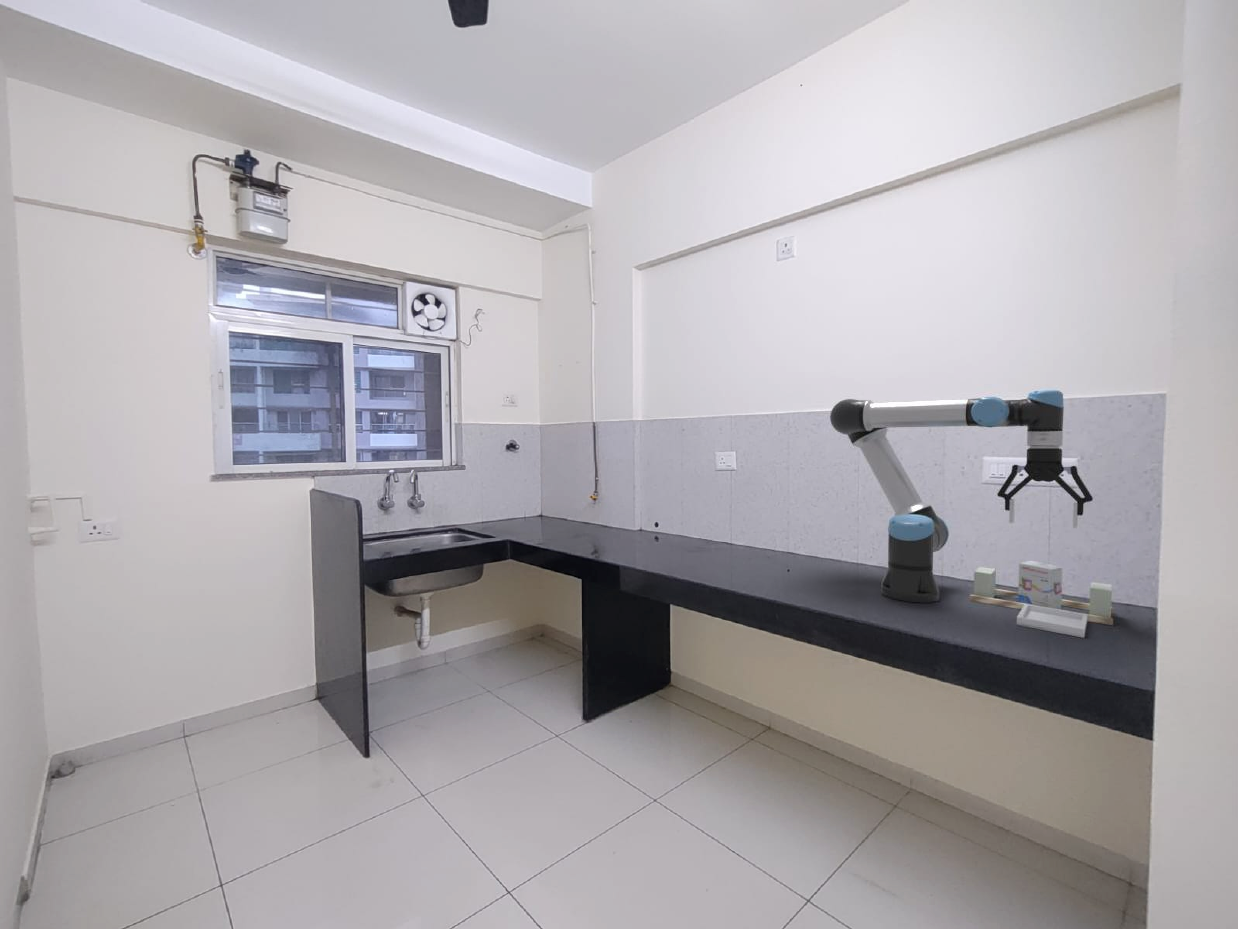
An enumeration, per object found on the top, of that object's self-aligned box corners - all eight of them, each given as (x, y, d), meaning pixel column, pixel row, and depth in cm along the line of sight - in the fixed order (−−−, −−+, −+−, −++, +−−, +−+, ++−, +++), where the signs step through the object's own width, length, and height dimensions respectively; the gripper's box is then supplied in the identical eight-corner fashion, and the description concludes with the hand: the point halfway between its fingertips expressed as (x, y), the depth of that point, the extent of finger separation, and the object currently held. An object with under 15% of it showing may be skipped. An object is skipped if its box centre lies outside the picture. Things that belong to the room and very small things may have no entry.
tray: (1016, 624, 131) (1016, 617, 131) (1024, 611, 141) (1024, 603, 141) (1084, 637, 122) (1084, 629, 122) (1087, 622, 133) (1087, 614, 133)
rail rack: (969, 600, 151) (969, 595, 151) (978, 591, 160) (978, 586, 160) (1112, 625, 130) (1113, 619, 130) (1113, 613, 140) (1113, 607, 140)
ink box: (1016, 603, 148) (1017, 561, 148) (1028, 601, 150) (1029, 560, 150) (1050, 612, 141) (1051, 568, 140) (1062, 610, 142) (1063, 566, 142)
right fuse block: (1088, 618, 135) (1090, 588, 135) (1090, 611, 141) (1091, 582, 141) (1110, 622, 132) (1111, 591, 132) (1110, 614, 138) (1111, 584, 138)
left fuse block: (973, 598, 153) (974, 571, 152) (979, 593, 158) (979, 566, 158) (990, 601, 150) (991, 574, 149) (995, 595, 156) (995, 569, 155)
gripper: (986, 447, 149) (985, 521, 150) (1106, 447, 132) (1103, 531, 133) (991, 447, 155) (989, 519, 156) (1106, 447, 138) (1104, 528, 138)
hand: (1042, 525), depth 144 cm, fingers open, 13 cm apart
